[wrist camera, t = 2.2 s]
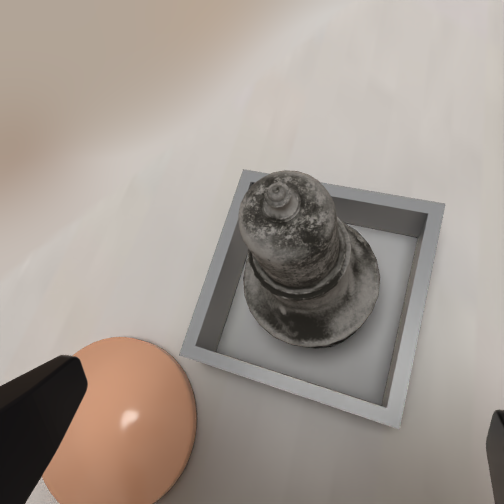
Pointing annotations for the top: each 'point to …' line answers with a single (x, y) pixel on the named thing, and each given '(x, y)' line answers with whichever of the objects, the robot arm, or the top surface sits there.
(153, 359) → the coaster
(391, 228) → the tub
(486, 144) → the top surface
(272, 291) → the grey tall domed piece
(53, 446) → the robot arm
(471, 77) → the top surface
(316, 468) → the top surface
